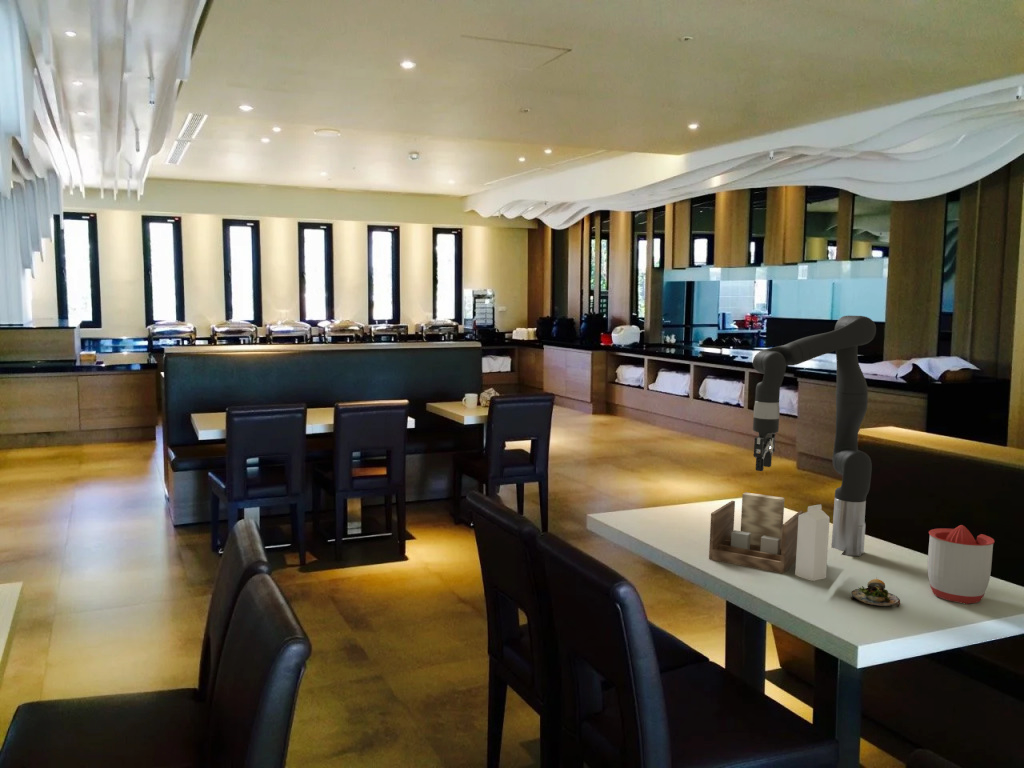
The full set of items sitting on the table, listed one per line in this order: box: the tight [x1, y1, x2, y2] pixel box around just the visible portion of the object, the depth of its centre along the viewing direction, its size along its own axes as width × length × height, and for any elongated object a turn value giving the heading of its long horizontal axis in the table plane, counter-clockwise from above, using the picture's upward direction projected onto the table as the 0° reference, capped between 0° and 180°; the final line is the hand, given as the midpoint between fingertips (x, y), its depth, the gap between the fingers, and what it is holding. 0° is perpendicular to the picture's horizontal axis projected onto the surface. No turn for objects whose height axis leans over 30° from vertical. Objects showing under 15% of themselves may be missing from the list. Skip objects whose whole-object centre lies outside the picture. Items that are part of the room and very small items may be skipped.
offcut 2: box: [760, 535, 781, 555], centre depth 244 cm, size 5×3×7 cm, turn 57°
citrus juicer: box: [927, 524, 995, 605], centre depth 221 cm, size 16×17×20 cm
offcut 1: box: [731, 529, 751, 550], centre depth 249 cm, size 5×3×7 cm, turn 57°
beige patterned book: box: [740, 491, 786, 549], centre depth 251 cm, size 12×3×18 cm, turn 57°
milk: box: [794, 504, 830, 582], centre depth 230 cm, size 6×6×22 cm
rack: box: [708, 500, 804, 574], centre depth 247 cm, size 22×20×16 cm
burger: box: [850, 578, 901, 608], centre depth 216 cm, size 12×12×8 cm
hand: (763, 468), depth 250 cm, fingers open, 8 cm apart
